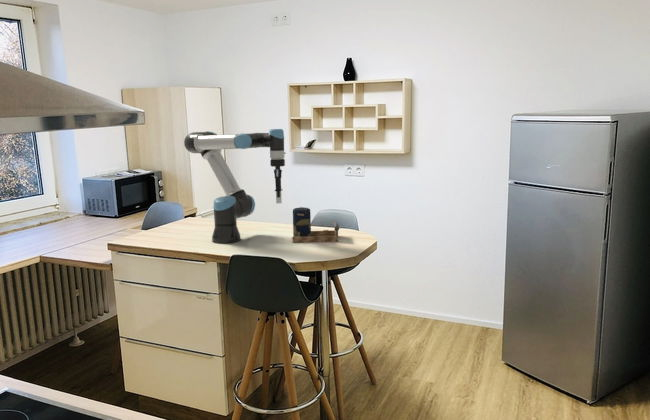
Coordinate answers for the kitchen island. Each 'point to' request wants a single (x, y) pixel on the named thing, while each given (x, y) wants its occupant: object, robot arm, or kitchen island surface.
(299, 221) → the canister
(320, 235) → the bay
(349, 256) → the kitchen island surface
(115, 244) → the kitchen island surface
